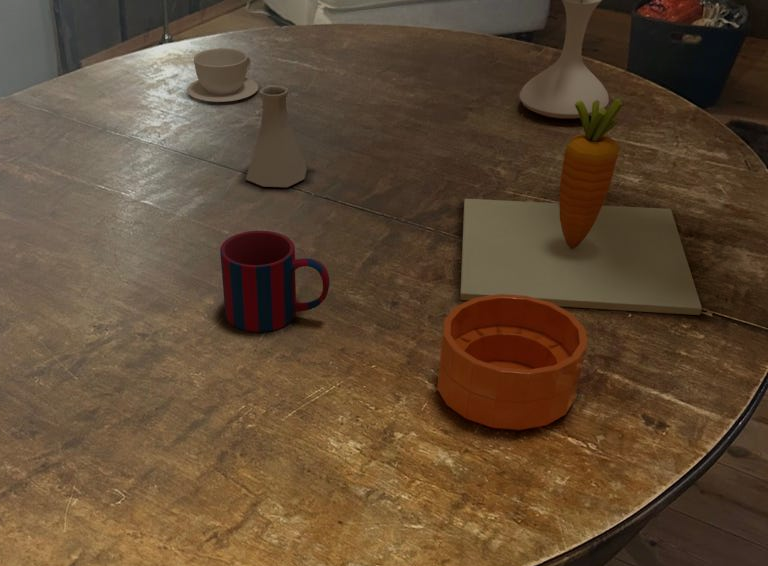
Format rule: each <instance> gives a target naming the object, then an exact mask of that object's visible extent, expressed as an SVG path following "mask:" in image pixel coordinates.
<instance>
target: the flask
mask: <svg viewBox="0 0 768 566" xmlns="http://www.w3.org/2000/svg"><path fill="white" fill-rule="evenodd" d="M288 94H289V87H286V86H283V85H276V84H275V85H273V84H272V85H271V84H268V85H266V86H264V87H261V88H260V90H259V98H260V99H261V100H262V112H261V113H262V114H261V121H260V128H259V131H258V136H257V139H256V143H255V146H254V150H253V154H252V156H251V160H250V163H249V167H248V169H247V173H246V177H245V180H246V181H248V182H251V183H253V184H256V185H258V186H261V187H265V188H266V187H267V188H268V187H270V188H290V187H291V186H294V185H295V184H298V183H299V182H301V181H303V180H305V178H306V174H307V170H308V167H307V165H306V162H305V160H304V157H303V155H302V152H301V150H300V147H299V145H298V142H297V140H296V137H295V133H294V131H293V129H292V127H291V123H290V119H289V114H288V109H287V97H288Z"/></svg>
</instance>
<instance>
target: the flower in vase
mask: <svg viewBox="0 0 768 566" xmlns="http://www.w3.org/2000/svg"><path fill="white" fill-rule="evenodd" d="M602 1H603V0H561V2H562V4H563V6H564V10H565V20H566V21H565V22H566V25H565V36H564V43H563V47H562V51H561V54H560V56H559V58H558V59H557V60H556V61H555V62H554V63H553V64H552V65H550V66H548V67H547V68H546V69H544V70H542V71H541V72H539V73H538V74H536V75H535V76H534V77H532V78H531V79H530V80H529V81H527V82H526V83H525V84H524V85H523V87H522V89H521V90H520V92H519V95H518V96H519V99H520V101H521V103H522V105H523V107H525V108H526V109H528V110H529V111H531V112H534V113H536V114H538V115H540V116H545V117H548V118H554V119H562V120H565V119H566V120H572V119H573V120H574V119H580V116H579V113H578V111H577V109H576V107H575V103H576V102H578V101H580V100H581V101H582V102H583V103H584V105H585V107H586V109H587V112H588V117H591V114H592V104H593V102H594V101H597V100H598V101H599V110H600V108H605V109H606V107H607V105H608V104H609V103H610V102H609V101H610V99H609V98H610V97H609V93H608V90H607V89H606V88H605V86H604V84H603V83H602V82H601V80H599V79H598V78H597V77H596V76H595V75H594V74H593V72H591V70H589V68H588V67H587V66H586V65H585V63H584V61H583V57H582V50H583V42H584V38H585V33H586V31H587V26H588V24H589V21H590V19H591V16H592V15H593V12H594V11H595V9H596V8H597V6H598V5H599V4H600V3H601V2H602Z"/></svg>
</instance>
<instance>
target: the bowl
mask: <svg viewBox="0 0 768 566" xmlns="http://www.w3.org/2000/svg"><path fill="white" fill-rule="evenodd" d="M587 337H588V336H587V331H586V328H585V327H584V325H583V324H582V323H581V322H580V321H579V320H578V319H577V318H576V316H575V315H574V314H573V313H571V312H569V311H568V310H566V309H564V308H563V307H561V306H557V305H555V304H553V303H551V302H547V301H544V300H540V299H536V298H533V297H529V296H522V295H507V294H497V295H491V296H484V297H478V298H474V299H471V300H466V301H465V302H463V303H461V304H459V305H456V306H455V307H454V308H453V309H452V310H451V311H450V312H449V313H448V315H447V316H446V317H445V318H444V320H443V327H442V338H441V344H440V345H441V346H440V353H439V354H440V355H439V364H438V373H437V387H436V388H437V391H438V393H439V394H440V396H441V398H442V400H443V401H444V402H445V403H444V404H445V405H446V406H447V407H448V408H450V409H452V410H453V411H454V412H456V413H457V414H459V415H460V416H462V417H463V418H464V419H466V420H468V421H472V422H475V423H479V424H480V425H484V426H487V427H489V428H492V429H502V430H504V429H505V430H514V431H515V430H516V431H522V430H527V429H532V428H538V427H544V426H545V427H546V426H548V425H550V424H551V423H554V422H555V421H557V420H559V419H561V418H562V417H564V416H565V415H567V413H568V411H569V410H570V408H571V407H572V405H573V403H574V402H575V400H576V396H577V391H578V388H579V387H578V386H579V384H580V383H579V382H580V379H581V375H582V370H583V366H584V361H585V358H586V354H587V348H588V338H587Z"/></svg>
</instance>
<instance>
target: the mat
mask: <svg viewBox="0 0 768 566" xmlns="http://www.w3.org/2000/svg"><path fill="white" fill-rule="evenodd" d="M462 214H463V215H462V216H463V217H462V219H463V220H462V240H461V242H462V243H461V262H460V263H461V266H460V290H459V300H460V301H469V300H471V299H474V298H478V297H484V296H491V295H497V294H507V295H522V296H529V297H533V298H536V299H540V300H544V301H547V302H551V303H553V304H555V305H557V306H559V307H561V308H563V307H564V308H580V309H594V310H595V309H597V310H612V311H626V312H627V311H628V312H642V313H656V314H657V313H659V314H673V315H689V316H691V315H692V316H700V315H701V313H702V310H703V306H702V304H701V300H700V297H699V294H698V292H697V288H696V285H695V281H694V279H693V276H692V272H691V269H690V267H689V266H690V265H689V262H688V259H687V256H686V253H685V249H684V246H683V243H682V240H681V237H680V234H679V230H678V227H677V223H676V221H675V218H674V214H673V212H672V209H671V208H663V207H661V208H659V207H642V206H641V207H640V206H621V205H604V204H603V205H602V207H601V210H600V212H599V214H598V216H597V219H596V221H595V223H594V225H593V227H592V228H591V230H590V231H589V233H588V234H587V236H586V237H585V238H584V240H583V241H582V242H581V243H580V244H579V245H578V246H577V247H575V248H574V249H571V248H570V247H569V246H568V245H567V243H566V240H565V237H564V235H563V232H562V227H561V222H560V209H559V203H558V202H542V201H541V202H539V201H523V200H522V201H521V200H520V201H519V200H504V199H503V200H500V199H499V200H498V199H481V198H464V200H463V213H462Z"/></svg>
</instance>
